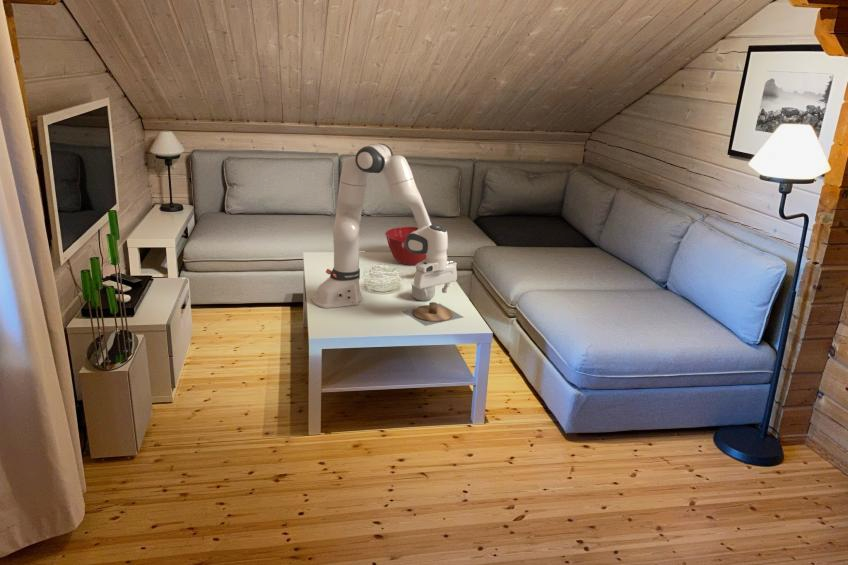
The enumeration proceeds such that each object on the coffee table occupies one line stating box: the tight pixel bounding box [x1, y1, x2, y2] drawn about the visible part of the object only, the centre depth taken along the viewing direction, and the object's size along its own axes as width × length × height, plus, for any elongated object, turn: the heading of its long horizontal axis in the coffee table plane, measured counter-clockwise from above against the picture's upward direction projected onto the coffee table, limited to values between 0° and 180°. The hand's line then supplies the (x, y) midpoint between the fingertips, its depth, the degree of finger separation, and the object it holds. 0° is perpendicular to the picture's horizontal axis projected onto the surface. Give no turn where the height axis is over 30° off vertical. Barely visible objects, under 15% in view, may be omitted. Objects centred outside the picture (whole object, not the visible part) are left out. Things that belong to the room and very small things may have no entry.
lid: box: [413, 301, 453, 323], centre depth 287 cm, size 17×17×5 cm
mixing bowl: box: [385, 226, 426, 266], centre depth 355 cm, size 28×28×15 cm
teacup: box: [411, 280, 436, 302], centre depth 305 cm, size 14×11×8 cm
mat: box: [402, 303, 464, 327], centre depth 288 cm, size 20×18×1 cm
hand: (435, 294), depth 285 cm, fingers open, 8 cm apart
